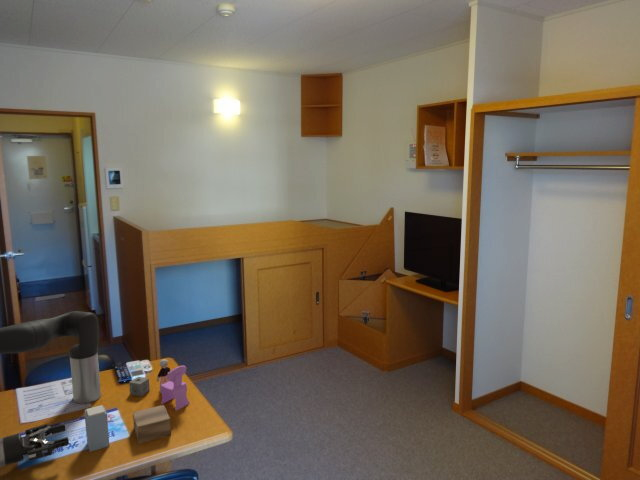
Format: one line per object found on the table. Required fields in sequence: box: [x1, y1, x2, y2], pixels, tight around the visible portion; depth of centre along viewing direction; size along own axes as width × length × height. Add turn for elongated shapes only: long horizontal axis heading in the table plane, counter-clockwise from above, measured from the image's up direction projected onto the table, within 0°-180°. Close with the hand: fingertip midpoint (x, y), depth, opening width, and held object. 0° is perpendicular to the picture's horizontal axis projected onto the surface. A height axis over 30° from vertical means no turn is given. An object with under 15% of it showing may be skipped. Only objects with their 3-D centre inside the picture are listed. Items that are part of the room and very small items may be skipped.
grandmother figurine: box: [156, 358, 172, 395], centre depth 184 cm, size 8×4×13 cm, turn 168°
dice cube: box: [128, 376, 151, 397], centre depth 183 cm, size 5×5×5 cm
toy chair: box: [159, 365, 190, 411], centre depth 174 cm, size 8×9×15 cm
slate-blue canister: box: [83, 404, 110, 453], centre depth 149 cm, size 6×6×12 cm
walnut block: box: [132, 404, 172, 444], centre depth 157 cm, size 10×10×6 cm
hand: (66, 433), depth 145 cm, fingers open, 8 cm apart
